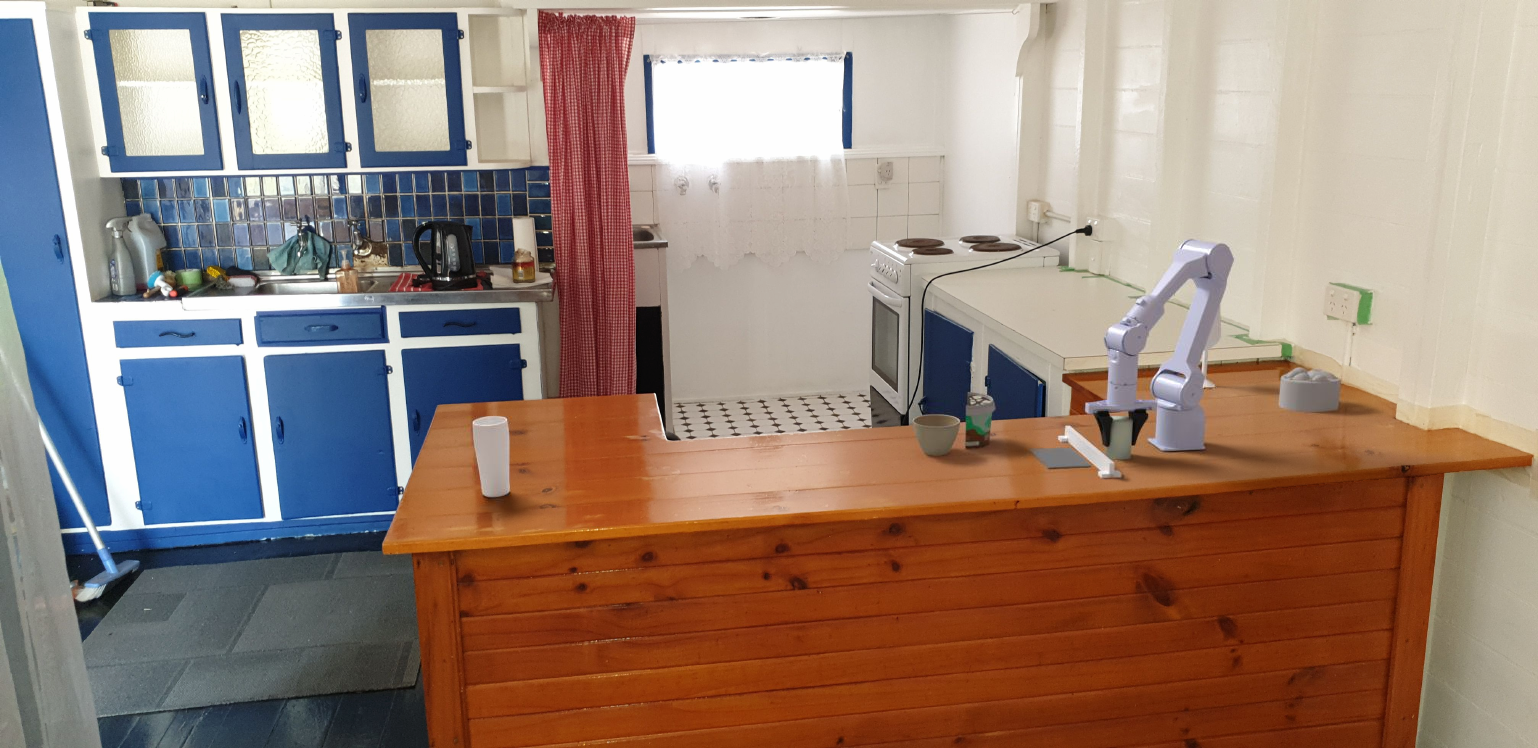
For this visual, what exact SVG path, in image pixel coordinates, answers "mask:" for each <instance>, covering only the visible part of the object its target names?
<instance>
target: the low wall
mask: <svg viewBox="0 0 1538 748" xmlns="http://www.w3.org/2000/svg"><path fill="white" fill-rule="evenodd" d="M1057 439H1058V441H1059V442H1061V443H1068V444H1069V445H1071V446H1072V447H1074V448H1073V449H1076V450H1077V451H1078V452H1079V453H1080V454H1082V456H1083V457H1085V458H1086V459H1087V460H1088V461H1089V462H1090V463H1091V464H1092V465H1094V467H1096V468H1097V469H1098V471H1097V475H1098V477H1100V478H1101V479H1110V478H1111V479H1112V478H1122V472H1120V471H1119V470H1118V469H1115V465H1116V464H1115V462H1113V460H1112V459H1111V458H1108V457H1107V456H1106V454H1104V453H1103V452H1102V451H1101V450H1099V448H1097V447H1096V446H1094V444H1092V443H1091V442H1090V441H1089V440H1087V439H1086V438H1085V437H1084V436H1083V435H1082V434H1080V433H1079V432H1078V431H1077V430H1075V429H1074V428H1073V427H1072V426H1071V425H1065V426H1064V435H1058V436H1057Z"/></svg>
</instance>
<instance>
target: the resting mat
mask: <svg viewBox="0 0 1538 748" xmlns="http://www.w3.org/2000/svg"><path fill="white" fill-rule="evenodd" d="M1029 450H1030V451H1029V452H1030V453H1032V454H1033V455H1034V456H1035V457H1036V458H1037V459H1038V461H1040V463H1042V464H1043V466H1045V467H1046V468H1047V469H1048V470H1053V469H1072V468H1074V469H1075V468H1092V464H1090V463H1089V462H1088V461H1087V460H1086V459H1085V458H1084V457H1082V456H1081V455H1080V454H1079V453H1078V452H1077V451H1076V450H1075V449H1074V448H1072V447H1059V448H1058V447H1057V448H1056V447H1055V448H1035V449H1032V448H1031V449H1029Z"/></svg>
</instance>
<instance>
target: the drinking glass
mask: <svg viewBox="0 0 1538 748" xmlns="http://www.w3.org/2000/svg"><path fill="white" fill-rule="evenodd" d="M509 431H510V429H509V423H508V419H507V418H506V417H505V416H500V415H498V416H497V415H493V416H492V415H490V416H483V417H479V418H476V419H474V420H473V421H472V436H473V446H474V451H475V456H476V461H477V466H478V473H479V478H480V486H481V492H482V495H483V496H485V497H487V498H500V497H504V496H505V495H507V494H509V492H510V490H511V487H510V432H509Z"/></svg>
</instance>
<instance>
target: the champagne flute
mask: <svg viewBox="0 0 1538 748" xmlns="http://www.w3.org/2000/svg"><path fill="white" fill-rule="evenodd" d="M1221 317H1222V316H1221V305H1220V306H1219V309H1218V312H1217V314H1216V317H1215V320H1214V323H1213V326H1212V329H1211V331H1210V334H1209V337H1208V340H1207V343H1206V345H1205V348H1204V351H1203V354H1202V364H1201V371H1202V373H1203V374H1204V376H1205V380H1204V384H1203V388H1204V387H1215V385H1216V384H1214V383H1213V382H1212V381H1210V380H1208V379H1207V370H1208V359H1209V358H1208V356H1209V350H1210V349H1212V348H1213V347H1214V346H1215V345H1217V344H1218V343H1219V341H1220V340H1221V338H1222V328H1221V326H1222V324H1221V322H1222V321H1221V320H1222V319H1221Z"/></svg>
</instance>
